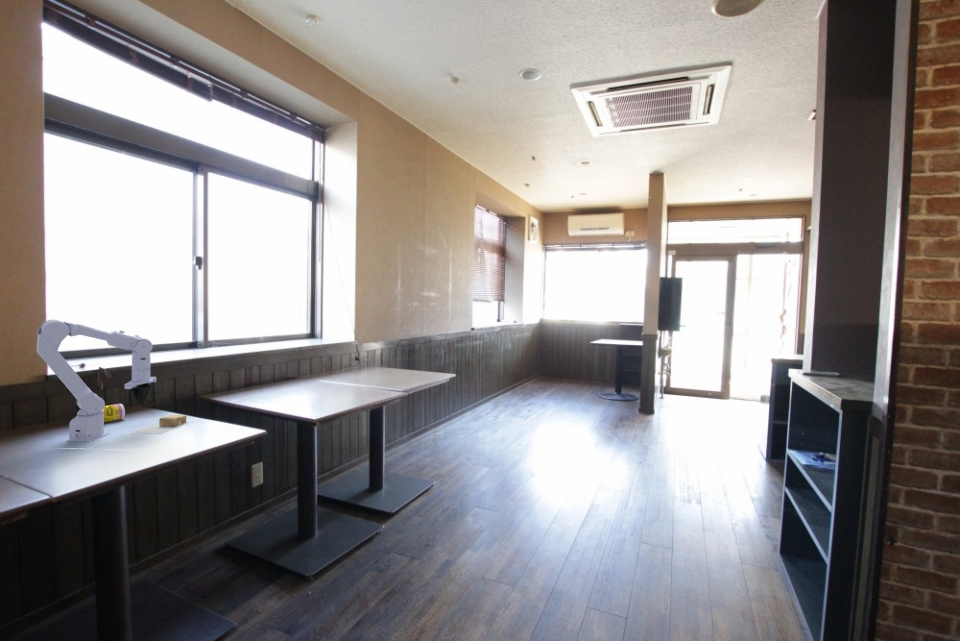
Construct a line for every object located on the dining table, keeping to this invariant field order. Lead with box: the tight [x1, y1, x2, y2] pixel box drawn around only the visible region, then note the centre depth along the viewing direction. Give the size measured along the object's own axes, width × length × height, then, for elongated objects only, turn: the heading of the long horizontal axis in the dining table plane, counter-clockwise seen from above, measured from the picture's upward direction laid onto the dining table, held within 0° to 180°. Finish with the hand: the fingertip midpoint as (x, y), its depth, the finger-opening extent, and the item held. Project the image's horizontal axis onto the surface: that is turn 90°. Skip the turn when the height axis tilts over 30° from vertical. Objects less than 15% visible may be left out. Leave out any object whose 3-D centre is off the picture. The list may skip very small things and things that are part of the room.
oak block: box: [158, 414, 187, 426], centre depth 179 cm, size 3×6×7 cm
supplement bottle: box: [102, 403, 126, 424], centre depth 178 cm, size 7×7×13 cm
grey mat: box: [130, 423, 181, 435], centre depth 172 cm, size 12×11×1 cm
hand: (141, 403), depth 172 cm, fingers closed
